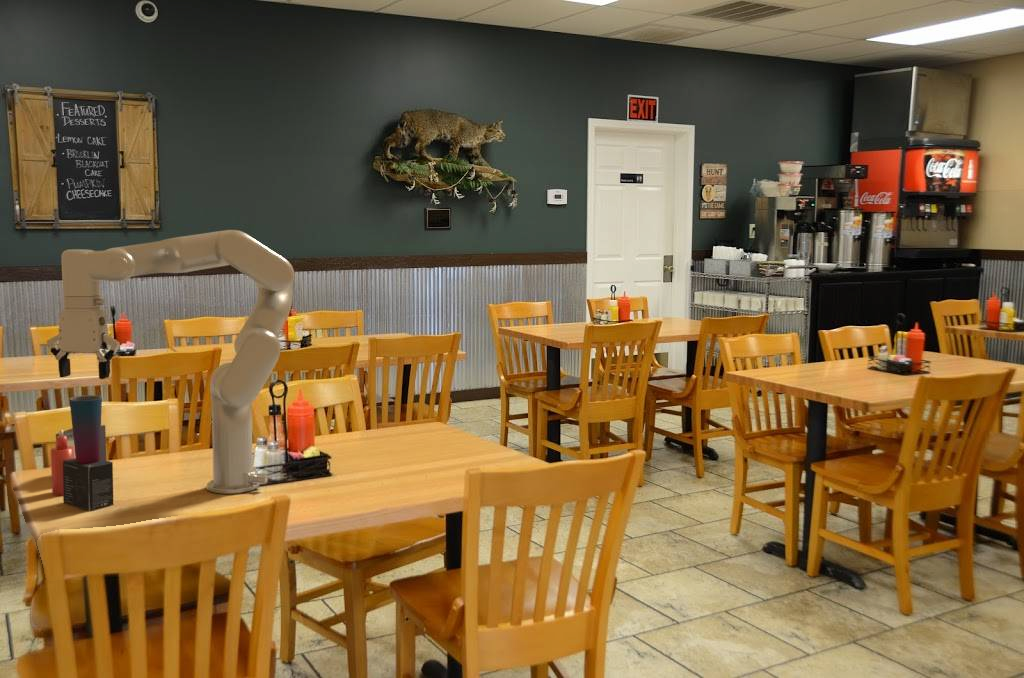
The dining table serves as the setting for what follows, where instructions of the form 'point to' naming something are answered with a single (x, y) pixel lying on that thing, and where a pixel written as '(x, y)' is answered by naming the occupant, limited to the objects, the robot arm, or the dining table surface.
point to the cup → (86, 427)
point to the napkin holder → (102, 443)
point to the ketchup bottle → (59, 462)
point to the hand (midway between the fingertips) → (84, 377)
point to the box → (88, 484)
